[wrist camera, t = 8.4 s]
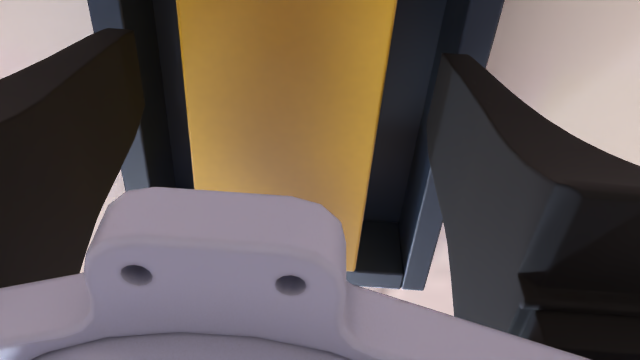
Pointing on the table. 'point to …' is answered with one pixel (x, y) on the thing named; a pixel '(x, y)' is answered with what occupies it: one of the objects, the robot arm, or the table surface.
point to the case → (392, 133)
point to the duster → (287, 98)
